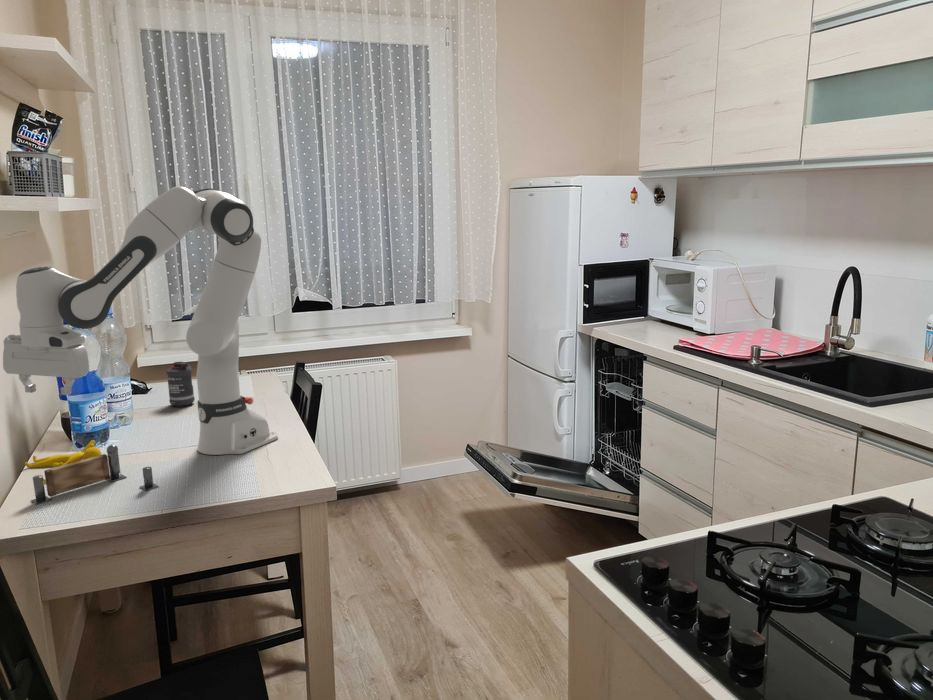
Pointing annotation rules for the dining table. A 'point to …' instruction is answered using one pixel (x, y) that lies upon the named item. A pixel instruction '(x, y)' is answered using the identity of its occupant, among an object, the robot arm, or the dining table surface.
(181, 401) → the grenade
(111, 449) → the hinge post
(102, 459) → the gate
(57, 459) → the figurine
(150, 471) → the post
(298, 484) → the dining table surface
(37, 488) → the latch stile
